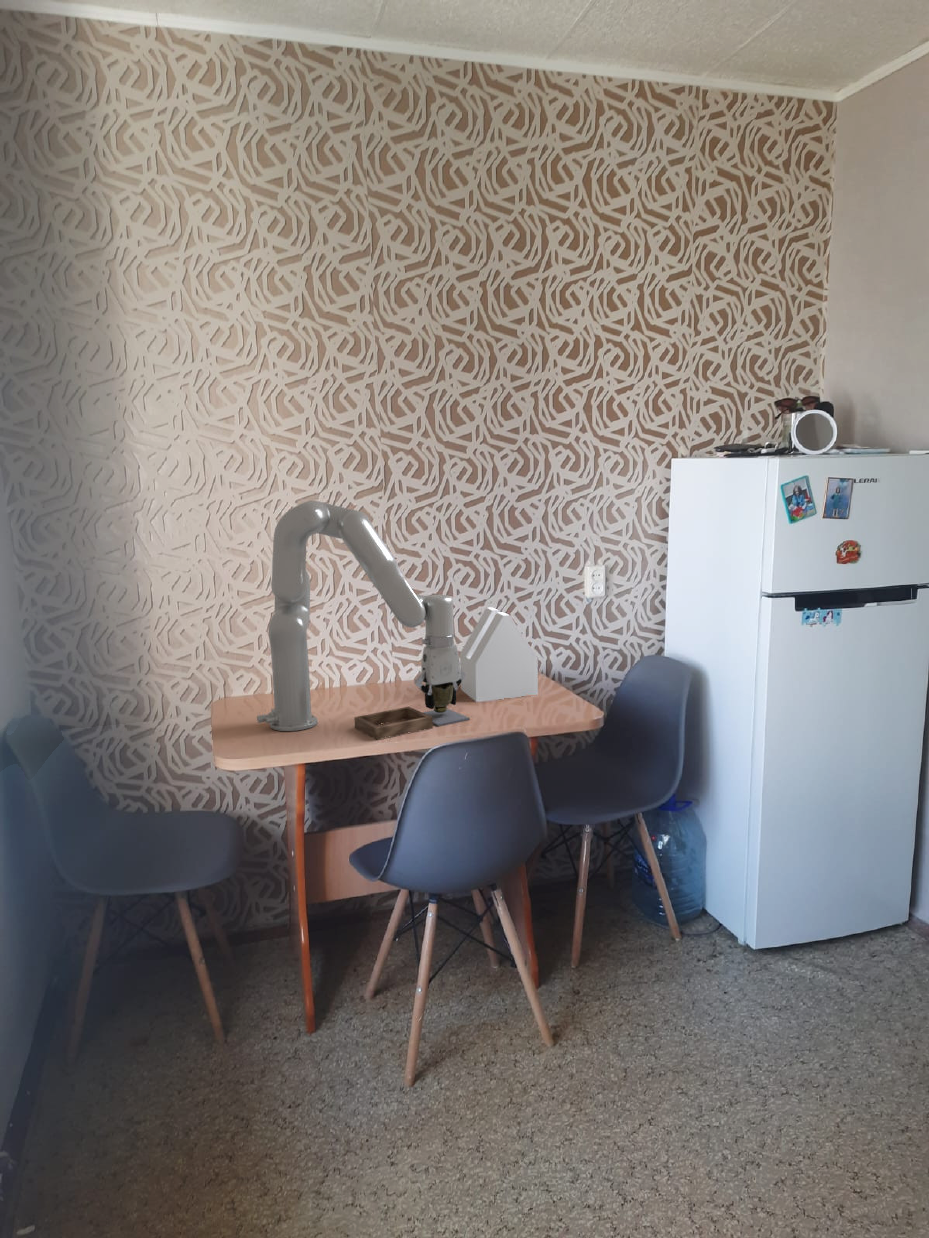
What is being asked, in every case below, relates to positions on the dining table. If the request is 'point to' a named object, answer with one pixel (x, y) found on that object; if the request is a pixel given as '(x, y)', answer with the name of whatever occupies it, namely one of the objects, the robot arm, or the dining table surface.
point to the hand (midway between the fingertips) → (440, 705)
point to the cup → (442, 696)
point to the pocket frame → (412, 725)
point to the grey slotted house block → (498, 660)
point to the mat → (446, 717)
